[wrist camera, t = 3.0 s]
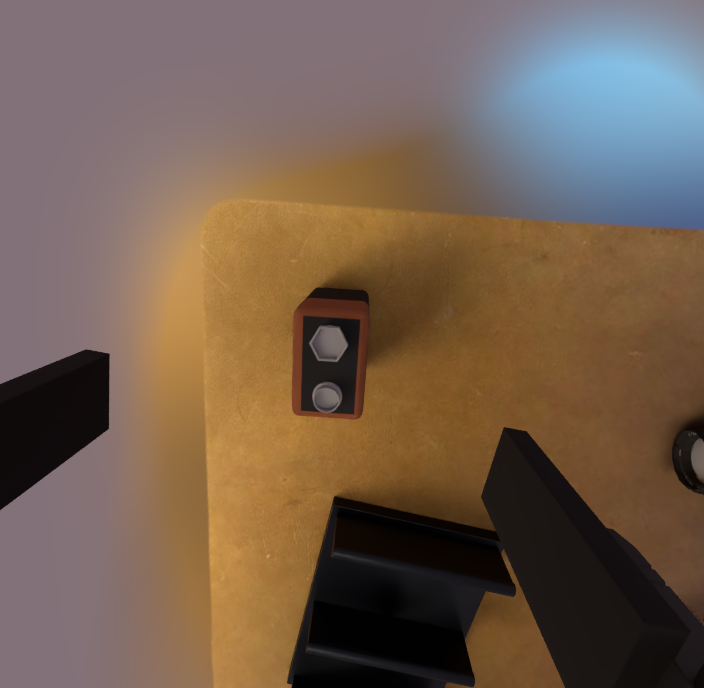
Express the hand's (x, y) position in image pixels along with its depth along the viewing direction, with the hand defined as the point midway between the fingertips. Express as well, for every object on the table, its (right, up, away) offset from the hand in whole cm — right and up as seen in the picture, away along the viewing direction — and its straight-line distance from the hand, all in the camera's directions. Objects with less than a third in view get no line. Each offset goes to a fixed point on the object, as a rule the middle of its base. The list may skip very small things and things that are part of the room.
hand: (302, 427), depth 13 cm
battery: (+1, +4, +18) cm, 19 cm away
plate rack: (+5, -24, +26) cm, 36 cm away
